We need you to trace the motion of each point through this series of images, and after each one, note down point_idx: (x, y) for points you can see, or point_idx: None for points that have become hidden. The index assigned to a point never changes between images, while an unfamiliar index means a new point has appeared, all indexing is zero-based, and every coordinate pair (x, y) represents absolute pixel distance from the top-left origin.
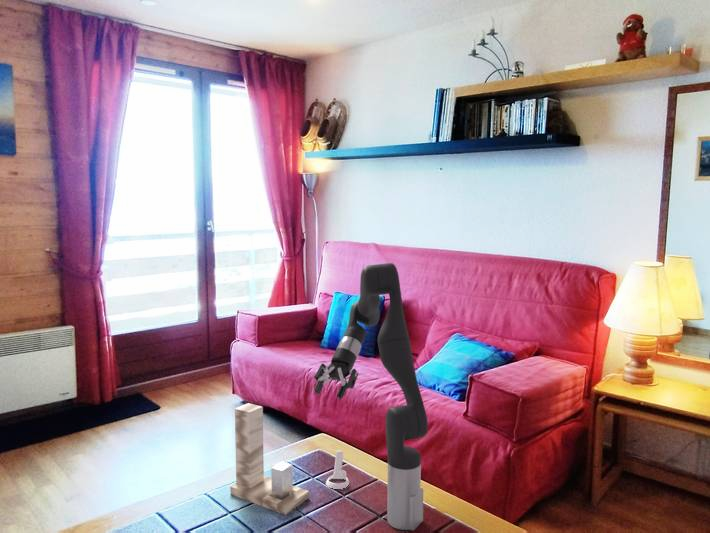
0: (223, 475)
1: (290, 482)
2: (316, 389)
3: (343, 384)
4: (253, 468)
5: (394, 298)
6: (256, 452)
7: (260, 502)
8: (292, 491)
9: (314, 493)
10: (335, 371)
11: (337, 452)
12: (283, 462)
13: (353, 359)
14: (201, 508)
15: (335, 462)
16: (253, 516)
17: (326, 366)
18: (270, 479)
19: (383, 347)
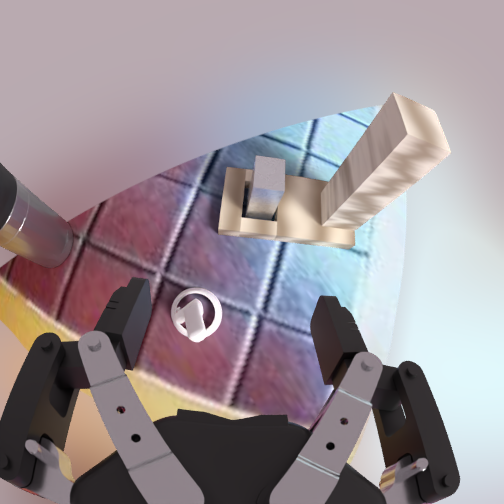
0: (397, 239)
1: (249, 198)
2: (330, 302)
3: (92, 336)
4: (333, 184)
5: None
6: (347, 177)
7: None
8: (246, 213)
9: (219, 256)
10: (246, 484)
11: (199, 326)
12: (278, 187)
13: None
14: (346, 149)
15: (198, 311)
16: (270, 155)
17: (404, 502)
18: (313, 235)
19: None
